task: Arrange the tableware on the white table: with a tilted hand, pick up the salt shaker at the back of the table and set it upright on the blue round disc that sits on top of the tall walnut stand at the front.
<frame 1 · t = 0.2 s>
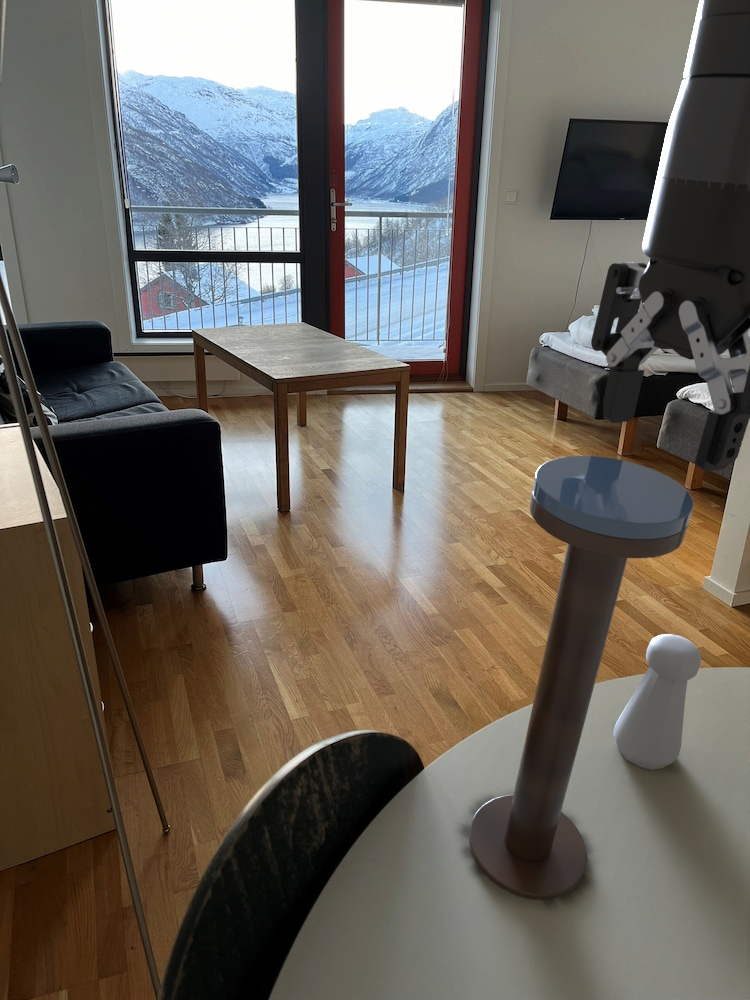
hand: (660, 442, 49), 33 cm above the table, tool pointing down, fingers open, 8 cm apart
salt shaker: (640, 758, 68), on the table
stand: (524, 854, 58), on the table
blue round disc: (609, 501, 44), resting on stand
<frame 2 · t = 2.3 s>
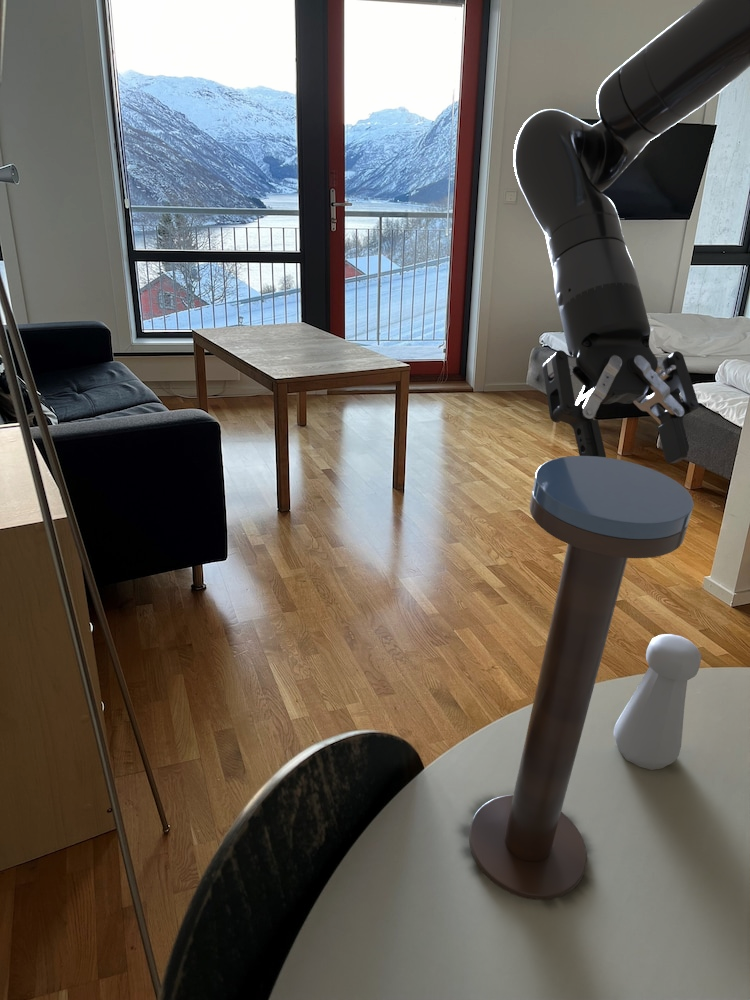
hand: (638, 462, 66), 25 cm above the table, tool tilted 45°, fingers open, 8 cm apart
nothing on the table moved.
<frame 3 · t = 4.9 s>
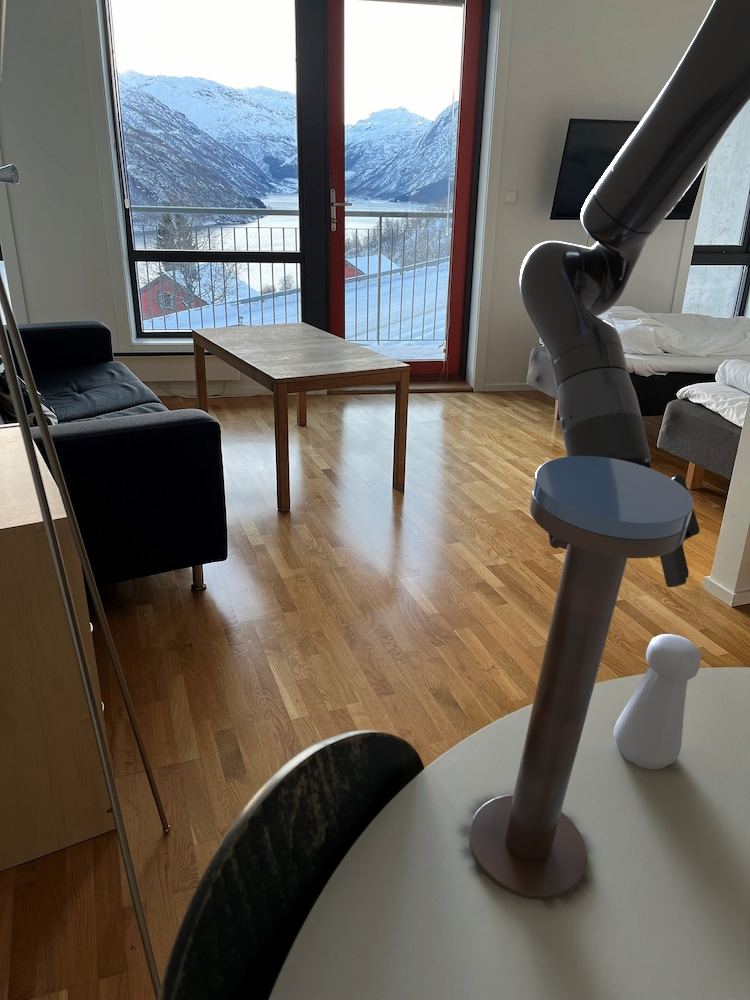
hand: (636, 588, 67), 14 cm above the table, tool tilted 45°, fingers open, 8 cm apart
nothing on the table moved.
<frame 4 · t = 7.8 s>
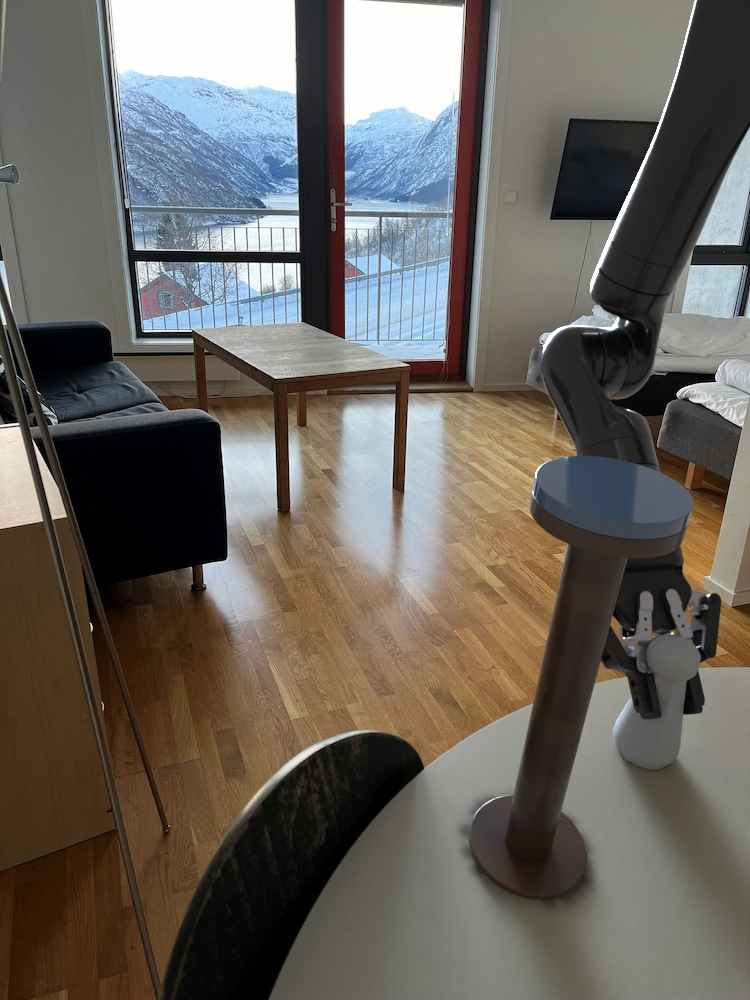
hand: (672, 715, 63), 7 cm above the table, tool tilted 45°, fingers closed on salt shaker, 3 cm apart
salt shaker: (639, 758, 68), on the table, touching gripper
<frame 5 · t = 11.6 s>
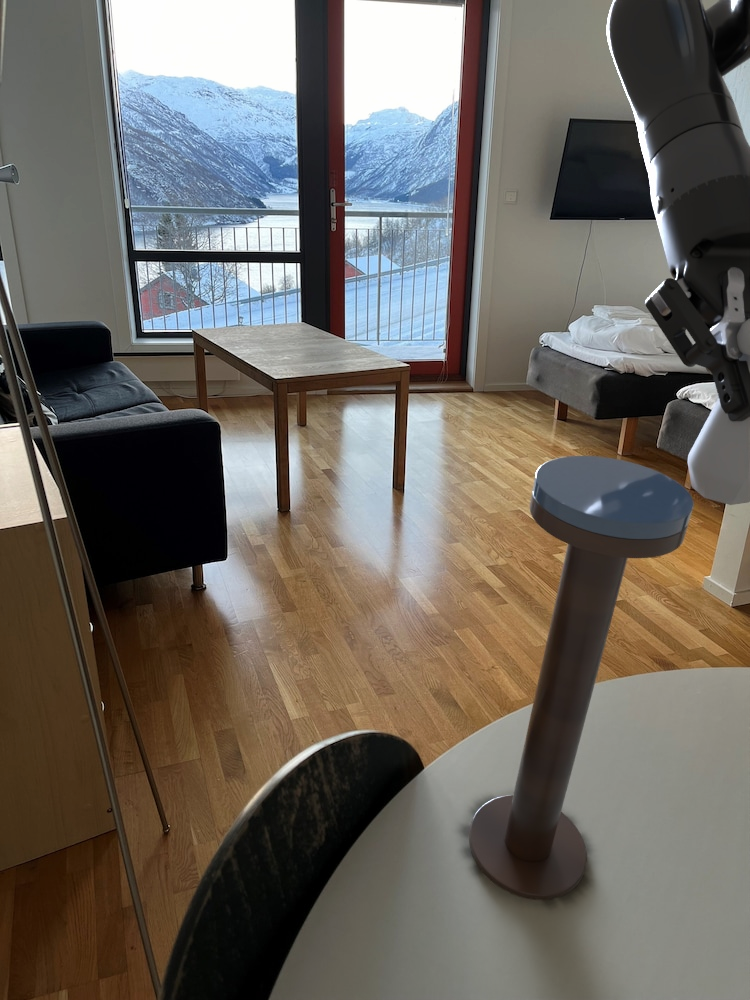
salt shaker: (719, 494, 56), point 27 cm above the table, touching gripper
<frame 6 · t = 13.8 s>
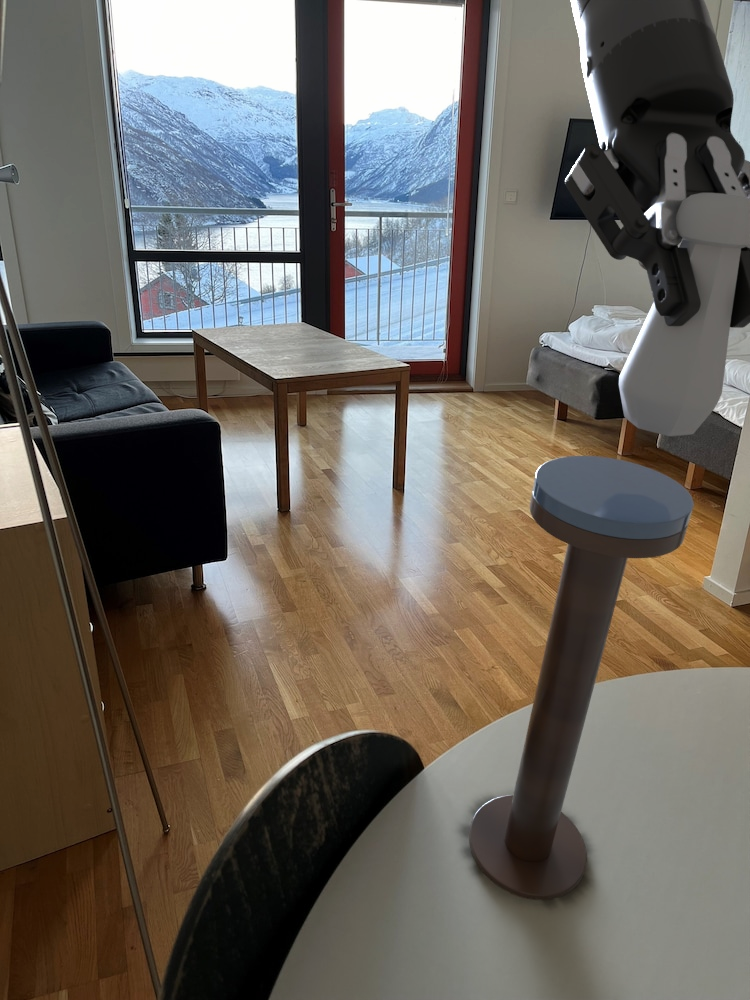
hand: (716, 318, 40), 42 cm above the table, tool tilted 45°, fingers closed on salt shaker, 3 cm apart
salt shaker: (658, 426, 45), point 35 cm above the table, touching gripper
when the fingers open (39 cm above the table, at t = 15.4 s): salt shaker stays where it is, resting on blue round disc.
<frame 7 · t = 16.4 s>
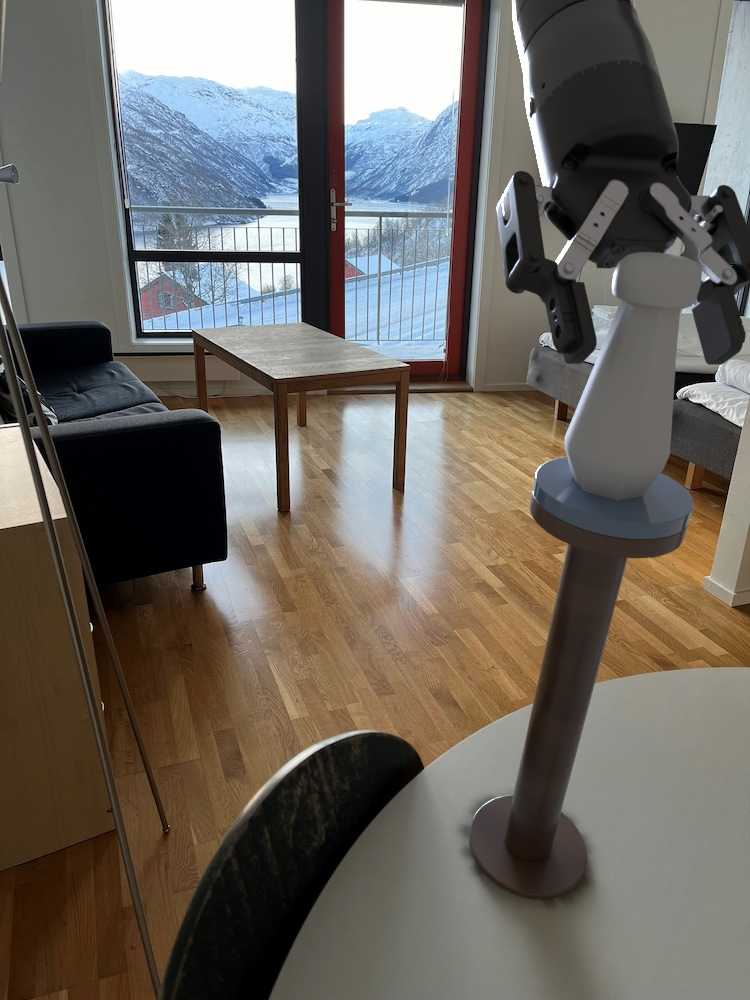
hand: (655, 357, 39), 40 cm above the table, tool tilted 45°, fingers open, 8 cm apart
salt shaker: (607, 487, 43), point 32 cm above the table, touching blue round disc
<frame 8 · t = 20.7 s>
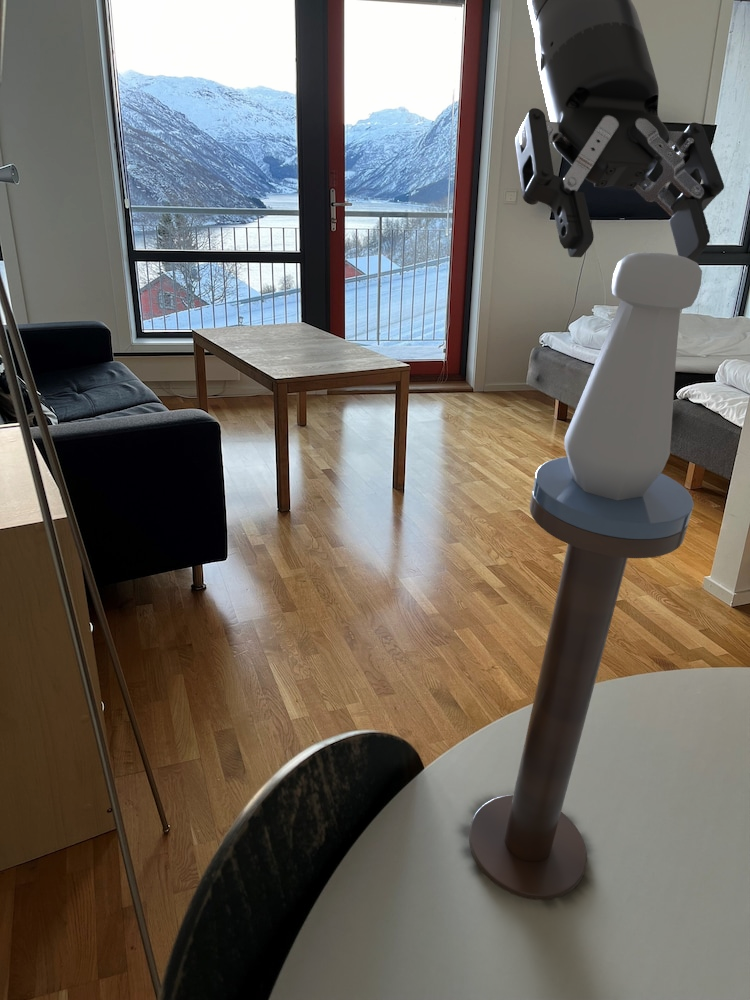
hand: (639, 252, 50), 44 cm above the table, tool tilted 45°, fingers open, 8 cm apart
nothing on the table moved.
at the end: salt shaker 0.3 cm off-centre on the blue round disc, point 0.8 cm above the blue round disc's base; salt shaker tilted 0°; the gripper is holding nothing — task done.
